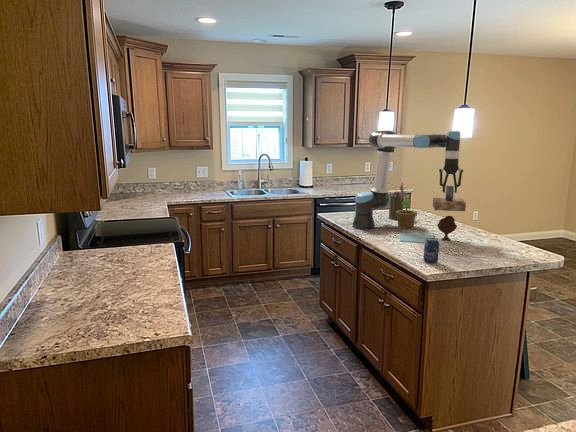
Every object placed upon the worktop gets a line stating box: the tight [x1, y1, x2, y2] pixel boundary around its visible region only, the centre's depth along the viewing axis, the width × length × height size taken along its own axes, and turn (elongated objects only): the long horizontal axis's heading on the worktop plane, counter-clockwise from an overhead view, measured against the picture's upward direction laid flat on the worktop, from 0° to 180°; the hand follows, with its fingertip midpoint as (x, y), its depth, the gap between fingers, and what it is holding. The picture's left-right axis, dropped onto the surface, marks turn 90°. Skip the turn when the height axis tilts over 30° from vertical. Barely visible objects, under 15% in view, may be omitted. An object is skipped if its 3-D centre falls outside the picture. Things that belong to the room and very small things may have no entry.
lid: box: [432, 185, 467, 212], centre depth 255 cm, size 17×17×13 cm
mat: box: [399, 232, 435, 244], centre depth 264 cm, size 20×20×1 cm
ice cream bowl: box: [436, 215, 458, 242], centre depth 259 cm, size 11×11×15 cm
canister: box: [388, 191, 405, 221], centre depth 319 cm, size 11×10×20 cm
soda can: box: [423, 237, 440, 265], centre depth 216 cm, size 7×7×12 cm
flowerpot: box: [396, 182, 418, 229], centre depth 292 cm, size 14×14×30 cm
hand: (449, 197), depth 255 cm, fingers closed on lid, 4 cm apart
